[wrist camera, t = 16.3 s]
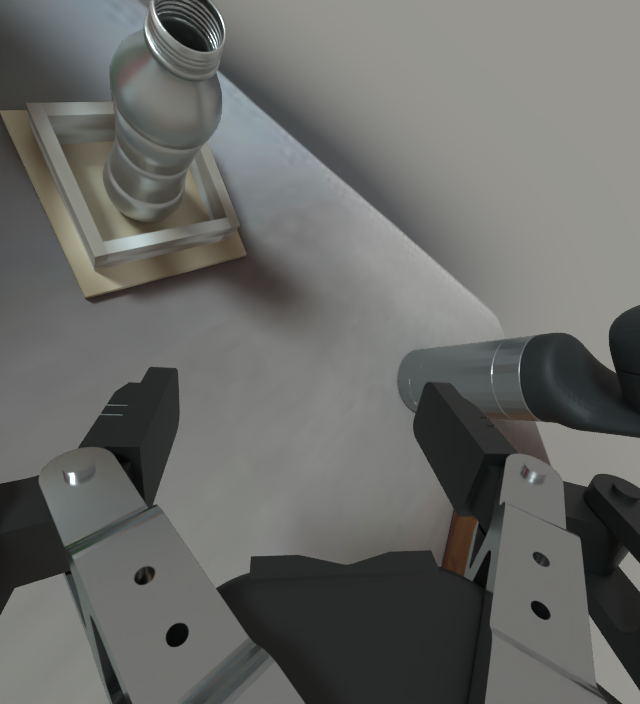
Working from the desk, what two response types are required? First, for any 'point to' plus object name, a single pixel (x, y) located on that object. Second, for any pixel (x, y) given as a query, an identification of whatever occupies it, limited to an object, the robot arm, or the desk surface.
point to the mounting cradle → (99, 212)
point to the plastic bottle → (163, 105)
